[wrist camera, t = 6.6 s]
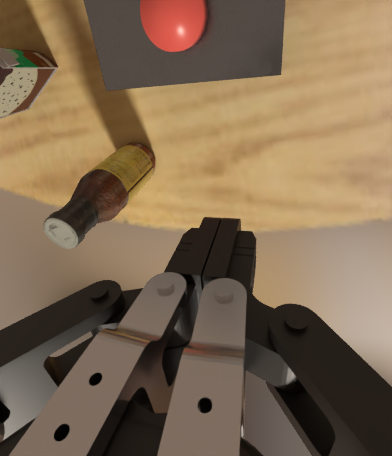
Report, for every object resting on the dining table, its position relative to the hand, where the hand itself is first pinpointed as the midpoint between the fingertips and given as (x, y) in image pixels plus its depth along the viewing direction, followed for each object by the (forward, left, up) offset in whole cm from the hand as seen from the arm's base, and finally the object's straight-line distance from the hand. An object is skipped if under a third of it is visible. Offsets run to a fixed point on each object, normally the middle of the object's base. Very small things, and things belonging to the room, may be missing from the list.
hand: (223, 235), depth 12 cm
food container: (+34, -7, -29) cm, 45 cm away
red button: (+8, -10, -27) cm, 30 cm away
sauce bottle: (+19, +7, -29) cm, 35 cm away
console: (+8, -10, -29) cm, 32 cm away
